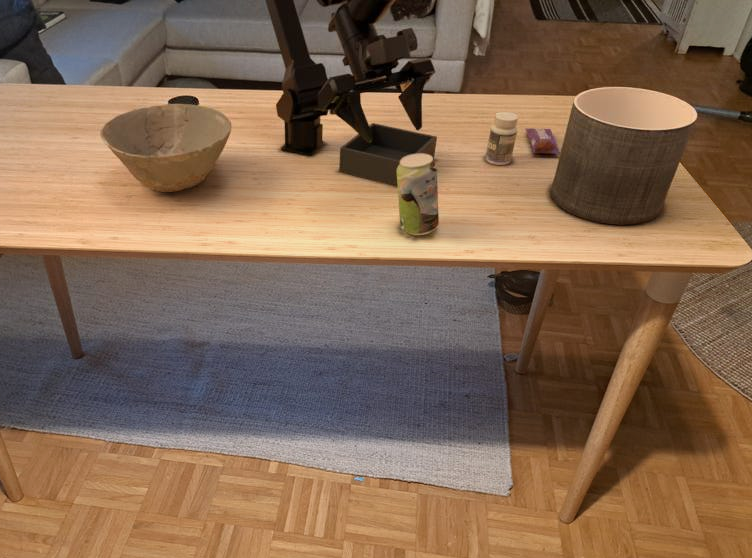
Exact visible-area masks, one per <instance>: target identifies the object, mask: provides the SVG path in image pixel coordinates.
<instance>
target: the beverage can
mask: <svg viewBox="0 0 752 558" xmlns="http://www.w3.org/2000/svg"><path fill="white" fill-rule="evenodd" d="M437 165H438V164H437V163H436V162H435V160H434V161H433V157H432V156H431V155H428V154H423V153H417V154H411V155H407V156H405V157H403V158H402V159H401V160H400V164H399V166H398V168H397V185H398V186H397V198H398V211H399V213H398V214H399V225H400V226H399V227H400V229H401V230H402V231H404V232H405V233H407V234H409V235H412V236H423V235H427V234H430V233H431V232H432V231H433V230H435V229H436V228H437V227H438V226H439V224H440V218H439V217H440V214H439V187H438V186H439V185H438V182H439V181H438V166H437Z"/></svg>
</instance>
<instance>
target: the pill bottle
mask: <svg viewBox="0 0 752 558" xmlns="http://www.w3.org/2000/svg"><path fill="white" fill-rule="evenodd" d="M518 119H519V116H518V115H517V113H516V114H515V113H513V112H510V111H509V112H508V111H499V112H496V113H495V115H494V119H493V124H492V125H491V127H490V131H489V136H488V141H487V147H486V151H485V161H487V162H488V163H490V164H492V165H497V166H498V165H499V166H500V165H501V166H502V165H504V166H505V165H508V164H510V163H511V161H512V158H513V153H514V148H515V143H516V138H517V135H518V127H517V124H518V121H519V120H518Z"/></svg>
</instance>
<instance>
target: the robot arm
mask: <svg viewBox="0 0 752 558" xmlns="http://www.w3.org/2000/svg"><path fill="white" fill-rule="evenodd" d="M264 1H265V4H266V7H267V11H268V13H269V17H270V20H271V24H272V27H273V31H274V34H275V37H276V41H277V44H278V48H279V51H280V54H281V57H282V62H283V64H284V68H285V70H284V75H283V79H282V82H281V89H282V95H281V97H280V98H279V99H278V101H277V103H276V104H275V109H276V114H277V117H278V118H279V119H281V120H282V121H283V124H284V144H283V145H281V146H280V150H281V151H285V152H291V153H295V154H300V155H305V156H312V155H313V154H314V153H315V152H316V151H317V150H318V149H320V147H322V146H323V145H324V143H325V142H324V140H323V129H324V127H323V124H322V123H321V117H323V116H328V113H329V114H330V115H331V116H333V115H335V116H337V117H338V118H340V119H341V120H342V121H343V122H345V124H346V125H348V126H349V127H351V129H353V130H354V131H355V132H356V133H357V135H358V134H359V135H360V136H361V137H363V138H364V139H365V140H366V141H367V142H368V143H370V142H371V141H372V140H373V137H372V133H371V130H370V127H369V125H370V124H369V122H368V120H367V117H366V114H365V112H364V109H363V107H362V102H361V99H362V97H361V96H362V95H361V94H364V93H369V92H374V91H378V90H383V89H387V88H392V87H395V89H396V91H398V92H399V93H400V94H399V95H398V96H397V97H398V100H399V102H400V104H401V105H402V108H403V109H404V111H405V113H406V115H407V116H408V119H409V121H410V123H411V124H412V125H413V127H414V129H415V130H416V131H420V130H422V128H423V91H424V88H425V86H426V85H427V83H429V82H430V80H431V77H433V75H435V73H436V68H435V66H434V63H433V61H432V60H431V59H430V58H428V57H422V58H417V59H412V60H408V61H407V62H406V63H405V64H404V66H402V68H401V69H400V70H399V71H395V72H393V71H392V70H393V69H396V68H397V67H398V66H399V65H400V63H399V61H400V60H403V59H410V58H411V53H412V52H414V51H417V50H418V46H419V44H418V38H417V35H416V33H415V31H414V29H413V27H408V28H404V29H403V28H402V29H401V30H399V31H397V32H396V36H390V37H387V36H385V34H378V31H377V28H376V25H375V24H377V23H379V22H380V21H381V20H382V19H383V17H384V16H385V15H386V14H387V12H388V10H390V8H391V7H392V5H393V4H394V3H395V1H396V0H316V2H317V3H318V5H319V6H320V7H323V8H326V7H327V8H328V7H333V6H338V5H339V7H337V10H336V11H335V12H331V15H330V20H329V23H328V27H327V29H328V30H327V31H328V33H334V32H336V35H337V37H338V40H339V42H340V45H341V48H342V50H343V53H344V57H343V58H342V60H341V61H342V64H343V66H344V67H349V69H350V72H351V73H345V74H339V75H334V76H330V77H328V74H327V71H326V67H325V65H324V63H322V62H319V63H316V62H315V61H314V60H313V59H312V58H311V54H310V52H309V47H308V44H307V41H306V38H305V34H304V31H303V27H302V23H301V21H300V17H299V14H298V10H297V7H296V3H295V0H264Z"/></svg>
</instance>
